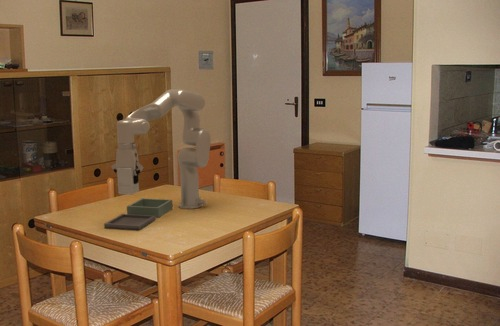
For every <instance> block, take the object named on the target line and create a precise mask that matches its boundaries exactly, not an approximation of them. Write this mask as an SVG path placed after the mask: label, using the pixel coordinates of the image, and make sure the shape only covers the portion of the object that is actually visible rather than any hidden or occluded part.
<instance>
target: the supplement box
mask: <svg viewBox="0 0 500 326" xmlns="http://www.w3.org/2000/svg"><path fill="white" fill-rule="evenodd" d="M136 168H137V167H136ZM116 169H117V175H116V176H117V188H118V189H117V190H118V192H117V193H118V194H119V195H129V196H130V195H134V194H137V193H139V192H140V188H139V187H140V186H139V182H138V183H137V184H134V178H133V176H134V173H133V170H132V168H116ZM137 170H139V168H138V169H137Z"/></svg>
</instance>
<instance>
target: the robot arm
mask: <svg viewBox="0 0 500 326" xmlns="http://www.w3.org/2000/svg"><path fill="white" fill-rule="evenodd" d="M205 106H206V99H205V97H204V96H203V95H201V93H196V92H193V91H190V90H186V89H177V88H175V89H174V88H173V89H172V88H171V89H168V90H166V91H164V92H163V93H162V94H161V95H160V96H158V97H156V99H154V100H153V101H152V102H151V103H149V104H146V105H144V106H142V107H139V108H138V109H136V110H134V111H132V112H131V113H130V114H128V116H126V118H124V119H121V120H117V122H116V133H117V149H116V153H115V154H116V155H115V156H116V157H115V163H113V164H112V165H111V166H110V167H111V169H112V170H113V172H114V173H115V174H116V176H117V168H132V170H133V173H134V176H133V178H134V184H137V183H138V184H139V181H140V180H139V175H140V173H142V171H143V169H144V168H145V167H144V166H143V165H142V164H141V163H140V162H139V154H138V152H137V146H138V145H137V143H135V135H145V134H147V133H149V131H150V128H151V126H150V122H149V121H154V120H157V119H160V118H163V117H164V116H165V115H166V114H167V113H169V112H170V111H171V110H172V109H173V108H175V107H177V108H178V109H179V110H180V111H181V113H182V115H183V129H182V142H183V144H184V145H187V146H192V147H184V148H181V149H180V150H179V151H178V154H177V161H178V162H177V163H178V166H179V175H180V203H179V204H178V208H180V209H183V210H185V209H186V210H190V209H191V210H192V209H193V210H194V209H200V208H201V207H202V206H203V205H206V204H207V200H206V199H202V197H201V196H200V193H199V191H200V187H199V185H200V184H199V172H198V169H197V168H204V167H206V166H207V165H208V163H209V159H210V151H211V143H212V142H211V141H212V138H211V134H210V132H209V130H207V129H206V128H201V116H200V113H199V112H200V111H201V110H204V109H205ZM193 147H195V148H193ZM136 167H137V168H136ZM137 169H138V170H137Z"/></svg>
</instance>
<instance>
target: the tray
mask: <svg viewBox="0 0 500 326" xmlns="http://www.w3.org/2000/svg"><path fill="white" fill-rule="evenodd" d="M156 220H157V219H156V216H150V215H133V214H127V213H121V214H119V215H118V216H115V217H114V218H112V219H111V220H109V221H107V222H105V223H103V225H104V226H103V228H104V229H109V230H125V231H137V232H139V231H141V230H143V229H144V228H146V227H147V226H149V225H150V224H152V223H154V222H155V221H156Z"/></svg>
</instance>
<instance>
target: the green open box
mask: <svg viewBox="0 0 500 326" xmlns="http://www.w3.org/2000/svg"><path fill="white" fill-rule="evenodd" d="M173 209H174V208H173V199H167V198H166V199H165V198H161V199H160V198H145V197H144V198H140V199H138V200H136V201H134V202H132V203H130V204H129V205H127V206H126V214H133V215H150V216H156V218H157V219H158V218H161V217H162V216H164V215H165V214H167V213H168V212H170V211H172V210H173Z"/></svg>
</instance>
